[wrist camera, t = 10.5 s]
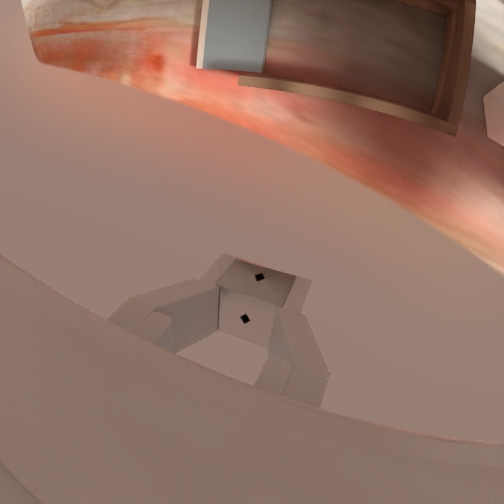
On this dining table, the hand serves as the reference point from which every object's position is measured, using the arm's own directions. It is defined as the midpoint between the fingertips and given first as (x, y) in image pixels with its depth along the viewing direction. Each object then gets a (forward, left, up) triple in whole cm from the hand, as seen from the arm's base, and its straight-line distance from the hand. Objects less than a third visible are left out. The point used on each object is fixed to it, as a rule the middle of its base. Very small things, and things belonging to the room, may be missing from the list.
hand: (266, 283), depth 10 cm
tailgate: (+10, -11, -28) cm, 32 cm away
